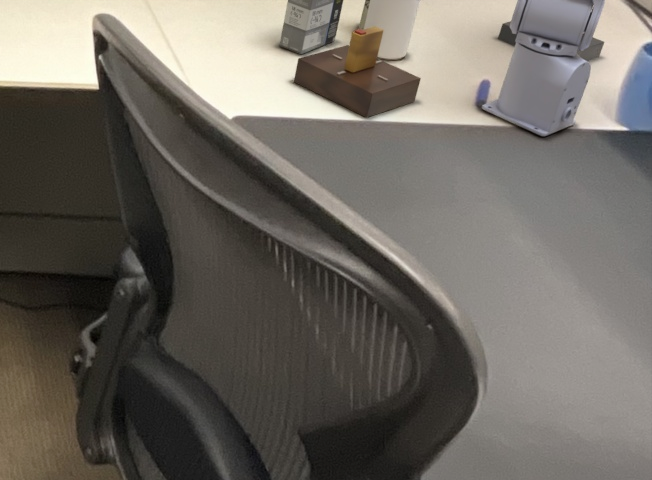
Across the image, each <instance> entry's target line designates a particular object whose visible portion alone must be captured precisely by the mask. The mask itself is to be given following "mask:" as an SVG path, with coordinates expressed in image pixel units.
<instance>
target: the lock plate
mask: <svg viewBox="0 0 652 480" xmlns="http://www.w3.org/2000/svg"><path fill="white" fill-rule="evenodd" d="M349 45H350V44H345V45H342V46H339V47H335V48H331V49H327V50H324V51H321V52H320V51H319V52H316V53H313V54H309V55H306V56H302V57H299V58H297V63H296V67H295V74H294V79H293V83H296V84H297V85H299V86H302V87H303V88H305V89H308V90H309V91H311V92H314V93H315V94H318V95H319V96H322V97H323V98H326V99H328V100H330V101H332V102H334V103H336V104H338V105H340V106H342V107H344V108H346V109H348V110H350V111H352V112H354V113H356V114H359V115H361V116H363V117H364V118H370V117H372V116H376V115H379V114H381V113H384V112H387V111H391V110H394V109H397V108H399V107H402V106H406V105H408V104H411V103H414V102H415V101H416V98H417V94H418V90H419V87H420V84H421V83H420V82H421V77H419V76H417V75H415V74H412V73H411V72H408V71H406V70H404V69H401V68H399V67H397V66H395V65H393V64H391V63H389V62H386V61H385V60H383V59H379V58H377V60H376V64H375V66H374V67H371V68H367V69H364V70H360V71H357V72H354V73H352V72H350V71H348V70H346V69H344V68H345V63H346V59H347V54H348V50H349Z"/></svg>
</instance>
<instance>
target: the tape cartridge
mask: <svg viewBox="0 0 652 480" xmlns="http://www.w3.org/2000/svg"><path fill="white" fill-rule="evenodd" d="M286 3H287V4H286V9H285V14H284V20H283V25H282V29H281V34H280V40H279V47H281V48H283V49H287V50H289V51H291V52H293V53H296V54H299V55H303V54H306V53H308V52H310V51H313V50H315V49H317V48H320V47H322V46H326V45H327V44H329V43H333V42H334V41H336V37H337V32H338V28H339V22H340V18H341V13H342V9H343V4H344V0H287V2H286Z"/></svg>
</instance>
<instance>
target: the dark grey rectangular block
mask: <svg viewBox="0 0 652 480" xmlns="http://www.w3.org/2000/svg"><path fill="white" fill-rule="evenodd" d="M510 24H511V20H510V21H506V22H504V23H503V22H502V24H501V28H500V30H499V33H498V37H497V39H498V40H500V41H503V42H504V43H507V44H510V45H512V46H514V47H515V45H516V42H515V40H516V37H517V34H518V32H517V34H513V33H512V30H511V29H510ZM582 37H583V36H582ZM581 40H582V38H581ZM580 44H581V41H580ZM580 44H579V47H580ZM604 44H605V41H603V40H601V39H598V38H595V37H594V36H593V37H592V40H591V43H590V45H589V47H588V48H586V49H584V50H583V51H581V50H579V47H578V49H577V54H578V55H579V56H580V57H581V58H582V59H584V60H586V61H587V62H590V61H591V60H594V59H597V58H599V57H600V55H601V53H602V50H603V47H604Z"/></svg>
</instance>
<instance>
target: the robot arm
mask: <svg viewBox="0 0 652 480" xmlns="http://www.w3.org/2000/svg"><path fill="white" fill-rule="evenodd" d="M605 3H606V0H516V3H515V8H514V11H513V14H512V17H511V20H510V21H511V24H510V29H511V30H512V33H513V34H517V32H518V34H517V37H516V40H515V42H516V45H515V46H514V48H513V51H512V54H511V57H510V60H509V63H508V67H507V69H506V72H505V76H504V79H503V83H502V86H501V88H500V92H499V95H498V98H497V99H495V100H492V101H490V102H487V103H484V104H482V105H481V109H482V110H483V111H486V112H488V113H490V114H492V115H494V116H496V117H498V118H501V119H502V120H505V121H507V122H509V123H512V124H514V125H516V126H519V127H520V128H523V129H525V130H526V131H529V132H531V133H533V134H536V135H538V136H540V137H546V136H549V135H552V134H554V133H557V132H558V131H561V130H564V129H566V128H569V127H571V126H573V125H576V120H575V117H576V114H577V112H578V110H579V106H580V104H581V101H582V99H583V96H584V93H585V91H586V87H587V85H588V83H589V80H590V76H591V70H592V69H591V68H592V67H591V63H590V61H586V60H584V59H582V58H581V57H580V56H579V55H578V54H577V49H578V47H579V44H580V41H581V44H580V47H579V50H581V51H583V50H584V49H586V48H588V47H589V45H590V43H591V40H592V37H594V34H595V32H596V29H597V27H598V24H599V20H600V18H601V16H602V12H603V9H604V6H605ZM582 36H583V37H582ZM581 38H582V40H581Z"/></svg>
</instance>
